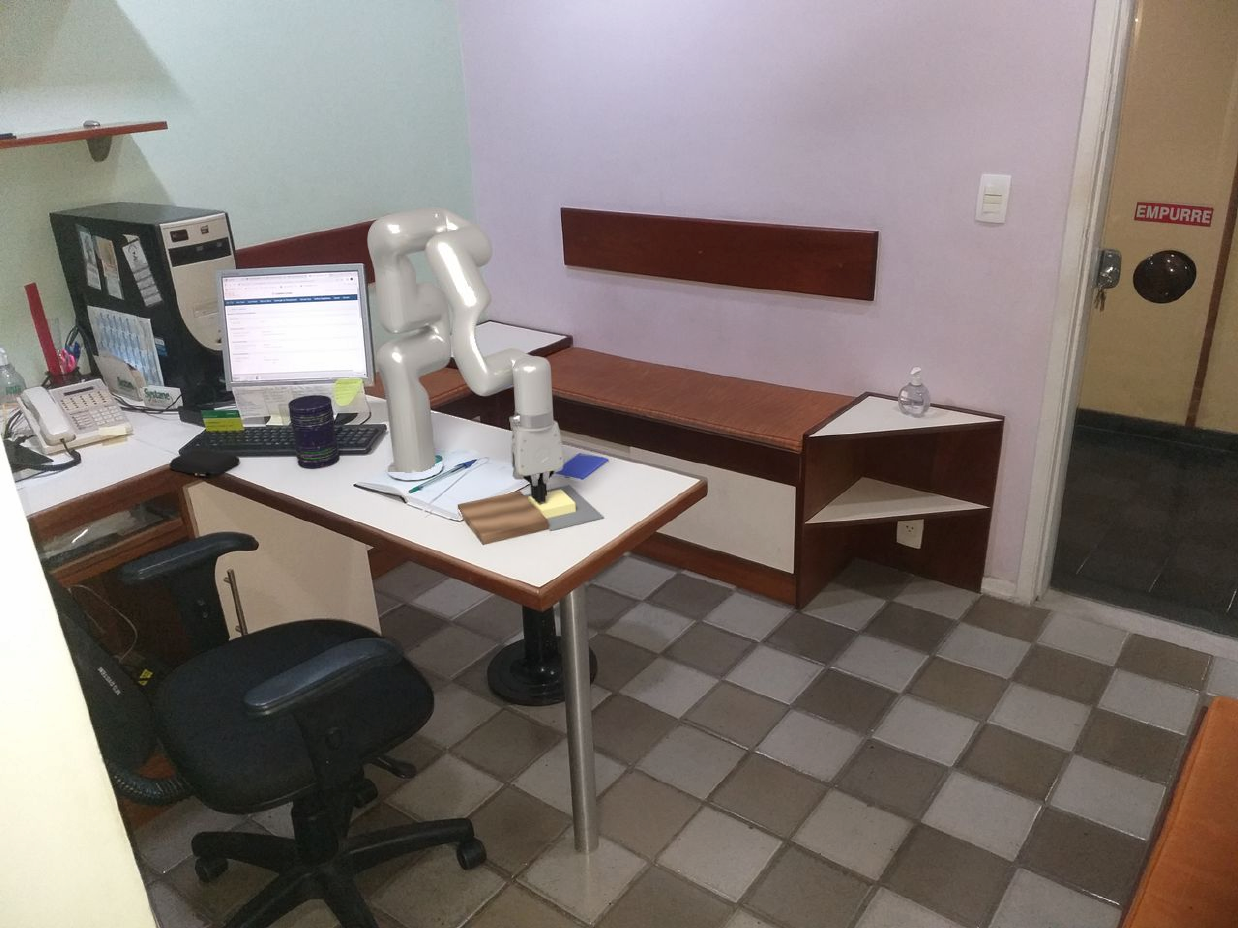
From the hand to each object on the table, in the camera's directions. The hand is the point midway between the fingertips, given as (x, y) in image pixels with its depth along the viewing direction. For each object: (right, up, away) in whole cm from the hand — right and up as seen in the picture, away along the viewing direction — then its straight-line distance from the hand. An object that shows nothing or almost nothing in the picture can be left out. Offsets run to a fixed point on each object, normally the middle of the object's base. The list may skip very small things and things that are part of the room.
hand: (539, 499), depth 203 cm
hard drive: (+8, +6, +22) cm, 24 cm away
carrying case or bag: (-81, +6, +26) cm, 86 cm away
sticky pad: (+2, -2, +2) cm, 4 cm away
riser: (-7, -4, -2) cm, 9 cm away
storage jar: (-55, +8, +29) cm, 63 cm away
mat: (+4, -2, +3) cm, 5 cm away
